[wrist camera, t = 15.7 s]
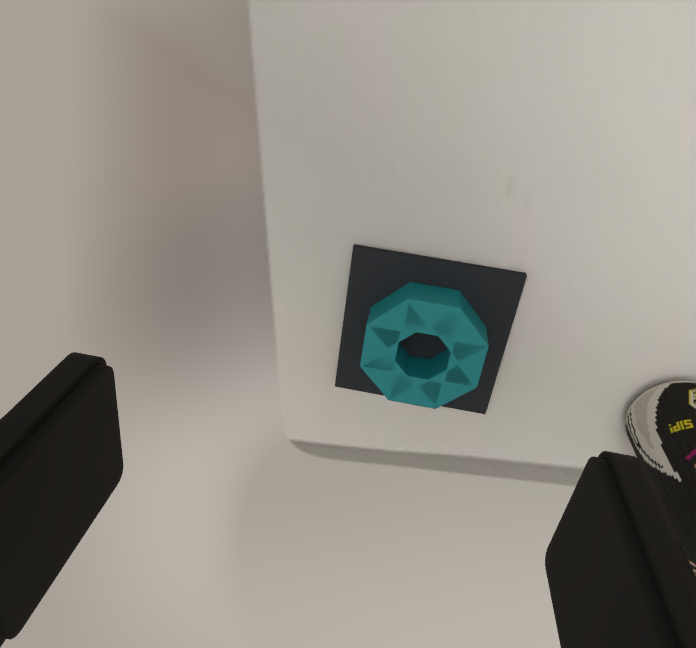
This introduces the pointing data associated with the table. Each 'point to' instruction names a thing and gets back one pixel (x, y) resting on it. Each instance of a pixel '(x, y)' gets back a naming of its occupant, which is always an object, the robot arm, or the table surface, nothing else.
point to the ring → (429, 318)
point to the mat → (387, 277)
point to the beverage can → (669, 454)
